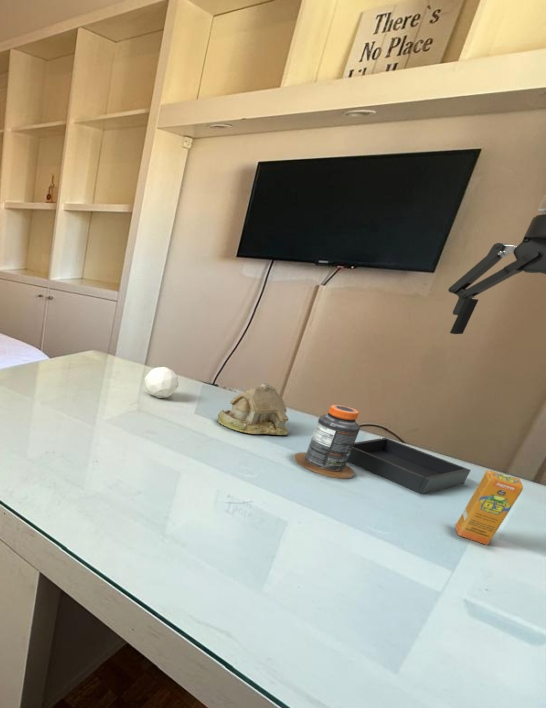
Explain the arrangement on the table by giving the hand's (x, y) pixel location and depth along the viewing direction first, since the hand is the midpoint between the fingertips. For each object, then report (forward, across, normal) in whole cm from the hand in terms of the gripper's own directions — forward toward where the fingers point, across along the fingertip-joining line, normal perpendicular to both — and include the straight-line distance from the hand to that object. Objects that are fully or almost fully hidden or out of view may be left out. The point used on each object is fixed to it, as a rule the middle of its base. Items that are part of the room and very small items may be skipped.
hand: (505, 342), depth 80 cm
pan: (+25, -1, -13) cm, 28 cm away
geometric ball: (+25, -43, -32) cm, 59 cm away
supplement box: (+25, +15, -27) cm, 40 cm away
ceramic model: (+25, -23, -24) cm, 41 cm away
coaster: (+25, -6, -27) cm, 37 cm away
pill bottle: (+24, -6, -27) cm, 37 cm away
